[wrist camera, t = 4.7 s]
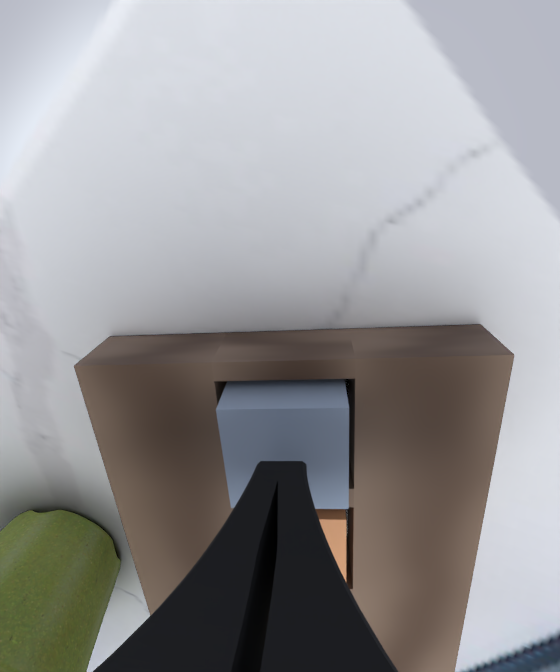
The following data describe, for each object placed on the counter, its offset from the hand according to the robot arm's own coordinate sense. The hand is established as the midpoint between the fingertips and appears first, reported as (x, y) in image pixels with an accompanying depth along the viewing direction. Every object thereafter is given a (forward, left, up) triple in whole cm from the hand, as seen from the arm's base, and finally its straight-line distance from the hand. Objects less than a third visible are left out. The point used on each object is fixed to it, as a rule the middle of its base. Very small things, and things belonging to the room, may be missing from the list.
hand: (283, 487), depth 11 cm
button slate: (0, 0, -3) cm, 3 cm away
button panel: (0, -6, -5) cm, 7 cm away
